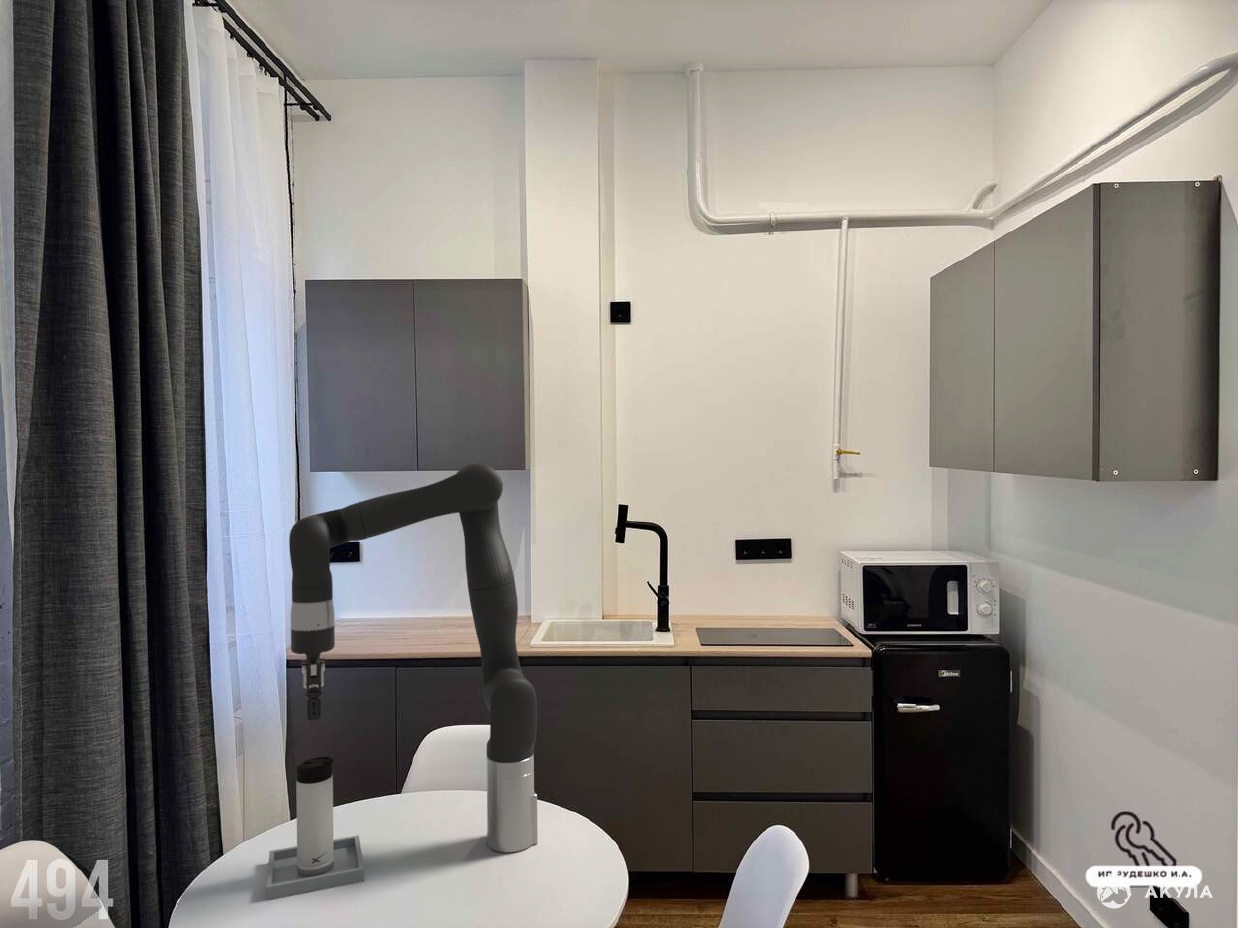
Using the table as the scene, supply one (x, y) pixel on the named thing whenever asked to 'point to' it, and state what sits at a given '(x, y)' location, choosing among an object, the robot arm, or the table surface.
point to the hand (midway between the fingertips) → (313, 712)
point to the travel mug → (314, 816)
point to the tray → (290, 882)
